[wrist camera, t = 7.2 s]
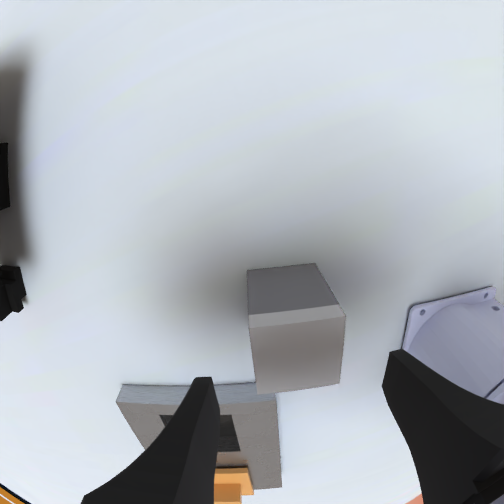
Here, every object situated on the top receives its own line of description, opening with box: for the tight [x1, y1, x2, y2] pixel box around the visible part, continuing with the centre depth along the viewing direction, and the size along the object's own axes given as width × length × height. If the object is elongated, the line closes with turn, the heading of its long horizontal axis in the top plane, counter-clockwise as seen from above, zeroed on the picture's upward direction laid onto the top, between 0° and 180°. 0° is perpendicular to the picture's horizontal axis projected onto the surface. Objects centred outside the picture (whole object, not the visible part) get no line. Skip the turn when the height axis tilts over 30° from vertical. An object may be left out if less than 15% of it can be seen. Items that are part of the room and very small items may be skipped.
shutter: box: [214, 468, 254, 504], centre depth 21 cm, size 6×6×3 cm
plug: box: [247, 263, 346, 395], centre depth 15 cm, size 4×4×6 cm
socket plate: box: [116, 383, 282, 490], centre depth 22 cm, size 12×16×2 cm
